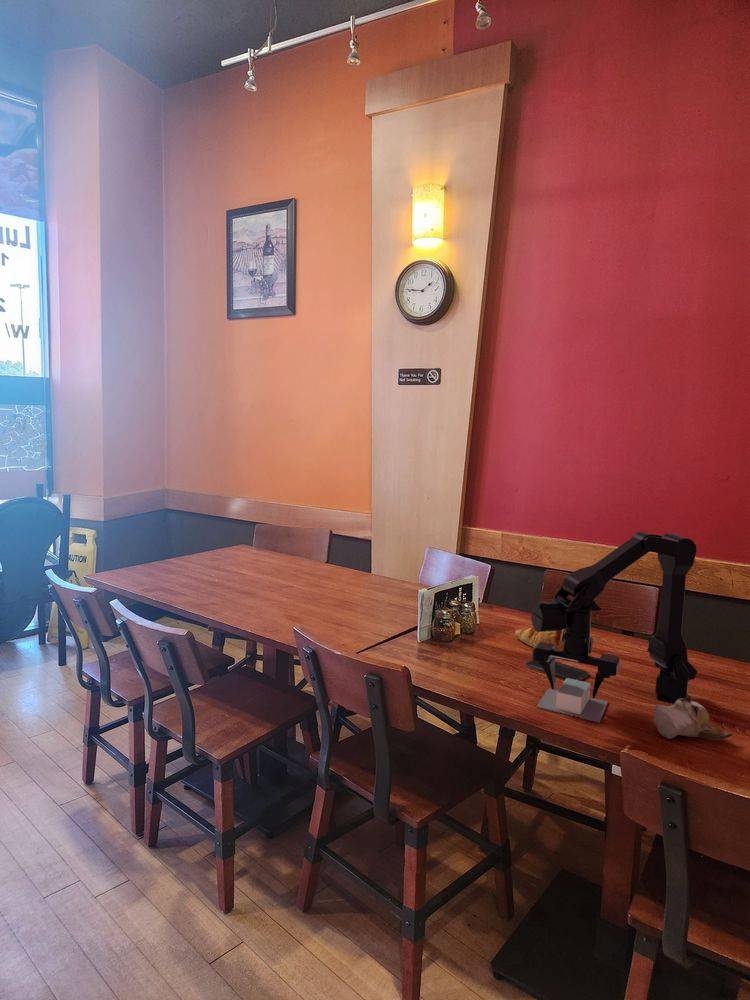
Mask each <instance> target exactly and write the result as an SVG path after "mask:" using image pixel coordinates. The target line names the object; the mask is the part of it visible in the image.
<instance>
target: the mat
mask: <svg viewBox="0 0 750 1000" xmlns="http://www.w3.org/2000/svg"><path fill="white" fill-rule="evenodd" d="M558 690H559V689H554V690H553V689H552V688H548V689H547V690H546V691H545V693H544V694H543V696H542V697H541V698H540V700H539V702H538V703H537V705H536V708H537V709H540V710H543V711H547V712H552V711H553V713H556V712H557V713H556V714H560V713H562V714H561V715H565V714H566V715H565V716H569V715H570V717H573V716H575V717H574V718H577V717H579V719H582V720H587V721H591V722H596V723H599V724H600V723H601V720H602V718H603V715H604V713H605V712H606V709H607V706H608V704H609V701H608V700H607V701H606V700H603V699H599V698H596V697H595V698H593V697H590V696H589V700H588V702H587V704H586V706H585V707H584V709H583V711H582V712H581V714H576V713H572V712H568V711H564V710H560V709H556V697H557V691H558Z"/></svg>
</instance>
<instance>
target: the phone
mask: <svg viewBox="0 0 750 1000" xmlns="http://www.w3.org/2000/svg"><path fill="white" fill-rule="evenodd" d="M525 667H526V668H528V669H530V670H533V671H536V672H540V673H542V674H545V675H546V673H545V671H544V669H543V667H542V665H539V664H538V661H535V660H533V659H530V660H529V661H527V662H526V663H525ZM588 677H590V673H589V671H586V670H583V669H581V668H577V667H574V666H572V665H568V664H565V663H562V662H559V661H556V660H555V679H560V680H563V681H565V680H566V678H569V679H573V680H578V681H583V680H585V679H587V678H588Z"/></svg>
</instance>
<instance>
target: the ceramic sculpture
mask: <svg viewBox="0 0 750 1000" xmlns="http://www.w3.org/2000/svg"><path fill="white" fill-rule="evenodd" d="M653 714H654V715H653V720H654V721H655V727H656V728H657V731H658V733H659V735H661V737H663V738H667V739H668V740H673V739H674V738H675V737H677V736H684V737H688V738H689V737H690V738H691V737H692V738H700V737H701V738H702V739H705V740H710V741H720V740H725V739H727V738H730V737H731V736H733V733H732V732H731V733H730V732H727V731H724V730H722V729H721V728H720V727H718V726H714V725H712V724H711V723H710V714H709V712H708V710H707V709H706V708H705V707H704V706H703V705H701V704H700V703H699V702H697V701H694V700H691V699H690V697H688V698H687V697H685V698H680V699H678V700H677V701H676V702H675V703H673V704H672V705H664V704H661V703H659V704H658V703H657V704H655V707H654V713H653Z"/></svg>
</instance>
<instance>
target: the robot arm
mask: <svg viewBox="0 0 750 1000" xmlns="http://www.w3.org/2000/svg"><path fill="white" fill-rule="evenodd" d="M697 548H698V547H697V544H696V543H695V541H693V539H691V538H690V537H685V536H681V535H679V534H676V533H671V532H669V533H665V534H663V535H660V534H655V533H647V532H643V531H636V532H635V533H634V534H633V535H632V537H630V538H629V539H627V541H625V542H623V544H621V545H619V546H618V547H617V548H615V549H613V550H612V552H609V553H608V554H607V555H605V556H604V557H603V558H601V559H599V560H598V561H597V562H595V563H593V564H592V565H589V566H586V567H585V566H584V567H581V568H579V569H577V570H575V571H572V572H571V573H568V574H567V575H566V576H565V577H564V579H563V583H562V584H561V586H560V587H559V589H558V590H557V591H556V593H555V594H554V595H553V597H552V600H551V601H550V600H549V601H545V600H537V601H536V605H535V606H534V607H533V608H532V612H531V614H530V617H531V619H530V620H531V624H532V627H533V628H534V629H535V631H536V632H545V631H562V632H563V635H562V642H564V644H563V651H560V650H555V645H554V644H549V643H543V642H540V643H538V644H537V646H536V647H535V648H533V649H532V654H531V655H532V657H531V658H532V659H531V660H535V661H538V664H539V665H542V667H543V669H544V671H545V673H546V674H545V673H544V674H545V675H546V676H547V679H548V682H549V685H550V686H551V688H550V689H553V690H556V689H555V688H556V677H555V661H556V659H557V660H563V661H567V662H573V663H578V664H583V665H588V666H592V667H593V666H594V667H597V671H596V674H595V677H594V683H593V690H592V698H595V699H596V696H597V694H598V691H599V688H600V686H602V685H601V684H602V683H603V681H604V680H605V679H610V678H611V677H616V676H617V674H618V672H619V670H620V665H621V659H620V657H619V656H617V655H613V654H608V653H601V656H600V657H597V656H596V657H595V656H592V655H591V654H592V651H593V644H594V637H592V636H591V628H592V612H600V611H601V610H602V608H601V607H600V606H599V605H598V604H597V602H596V601H595V600H596V599H597V598H598V597H599V595H601V594H602V593H603V592H604V590H605V587H606V585H607V584H608V583H609V582H610V581H611V580H612V579H614V578H615V577H616V576H618V575H619V574H621V573H622V572H623V571H624V570H626V569H627V568H629V567H630V566H631V565H633V564H634V563H635V562H637V561H638V560H640V559H641V558H643V557H644V556H646V555H647V554H648V553H650V552H651V553H654V554H657V560H658V562H659V565H660V567H661V569H662V570H661V571H662V582H661V596H660V597H661V598H660V609H659V610H660V612H659V623H658V624H659V625H658V630H657V632H656V633H654V635H649V636H648V647H647V649H646V651H647V652H648V653H649V658H650V659H651V660H652V661H653V663H654V667H656V668H657V669H659V673H658V674H656V677H655V679H656V680H655V692H654V693H655V694H656V700H659V701H660V700H661V701H666V702H669V703H673V704H674V703H675V702H676V701H677V700H678V699H680V698H685V697H687V698H689V693H688V691H689V690H688V688H689V681H693V680H695V678H696V676H697V674H698V670H697V669H696V667H694V666H693V665H692V664H691V663H690V661H688V660H689V657H688V647H687V644H686V641H685V639H684V637H683V633H682V631H683V622H684V621H683V619H684V607H685V606H684V604H685V594H686V581H687V575H688V572H689V571H690V570H691V569H692V567H693V566H694V564H695V559H696V556H697V552H698V551H697V550H698V549H697ZM568 597H570V598H572V600H571V599H569V598H568Z"/></svg>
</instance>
